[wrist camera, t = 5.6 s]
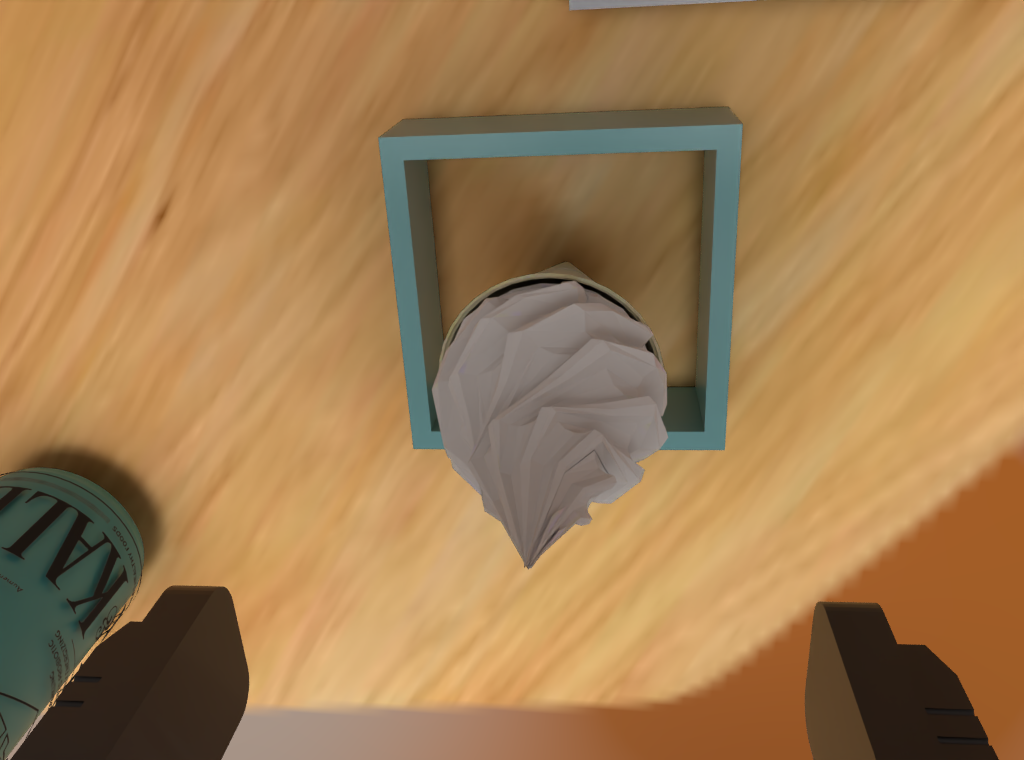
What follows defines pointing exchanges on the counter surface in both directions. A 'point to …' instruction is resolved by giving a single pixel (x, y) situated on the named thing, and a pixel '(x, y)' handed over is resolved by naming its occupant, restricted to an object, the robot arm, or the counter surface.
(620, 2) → the frame
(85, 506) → the beverage bottle
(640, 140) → the crate
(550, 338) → the ice cream cone
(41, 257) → the counter surface
